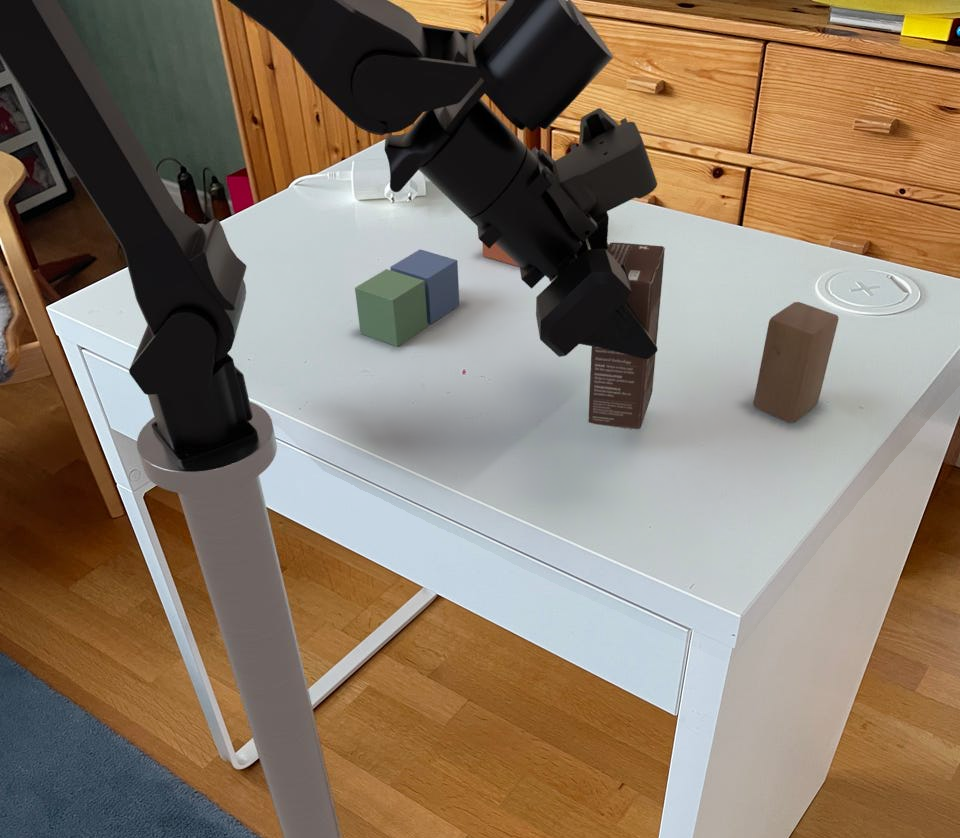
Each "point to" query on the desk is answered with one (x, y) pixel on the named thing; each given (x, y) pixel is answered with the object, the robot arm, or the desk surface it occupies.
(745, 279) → the desk surface
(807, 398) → the wooden block
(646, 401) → the box
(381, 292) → the block line
